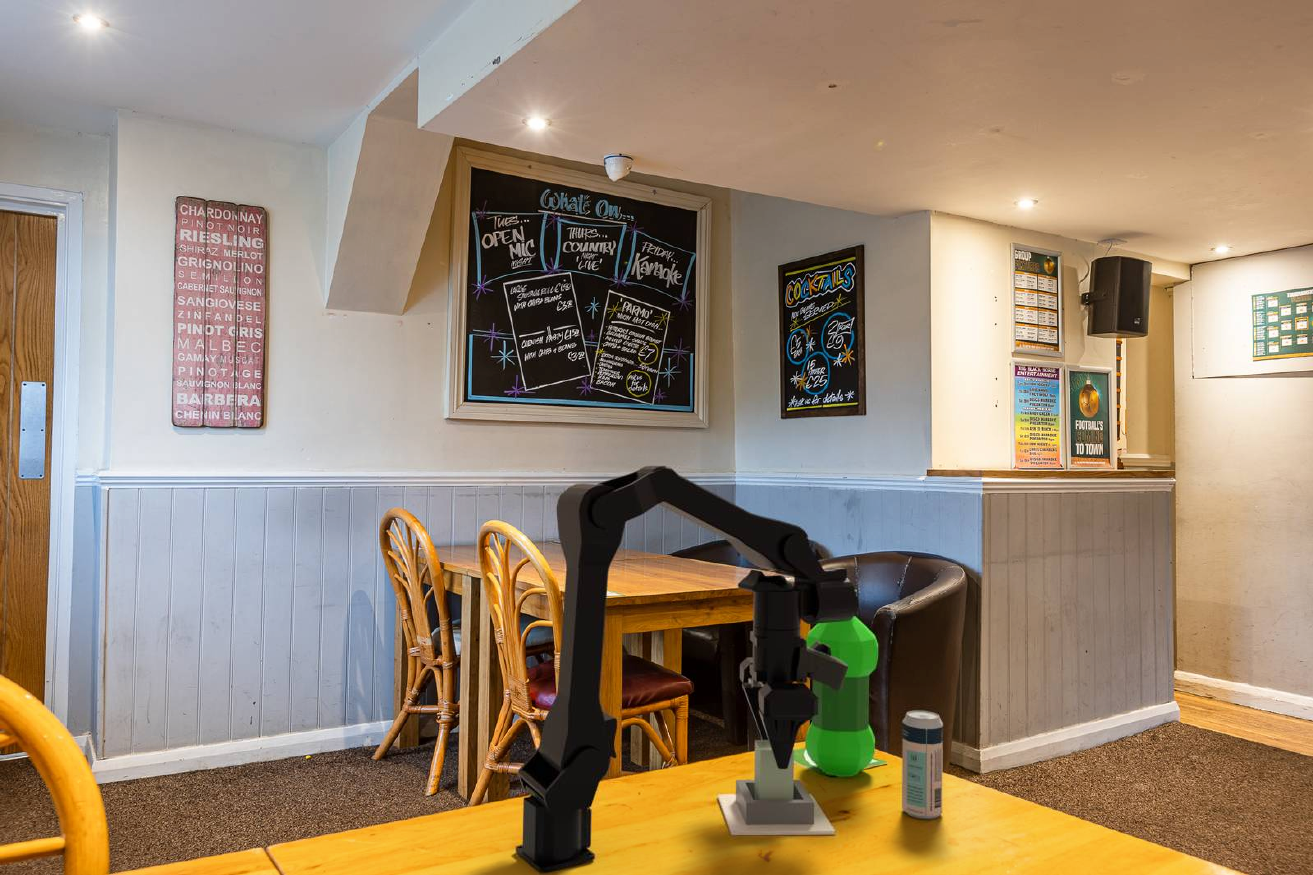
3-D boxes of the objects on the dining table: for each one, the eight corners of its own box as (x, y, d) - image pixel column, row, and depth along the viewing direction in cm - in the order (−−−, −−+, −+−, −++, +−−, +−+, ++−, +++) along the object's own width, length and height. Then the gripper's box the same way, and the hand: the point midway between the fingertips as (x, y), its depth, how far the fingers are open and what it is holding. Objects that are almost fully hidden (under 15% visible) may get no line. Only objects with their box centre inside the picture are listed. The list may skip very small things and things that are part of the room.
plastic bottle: (787, 768, 130) (789, 588, 131) (835, 754, 137) (837, 583, 137) (844, 788, 122) (846, 597, 123) (892, 772, 129) (894, 591, 130)
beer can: (938, 807, 116) (938, 710, 116) (946, 822, 111) (946, 720, 111) (898, 805, 116) (899, 708, 117) (905, 820, 111) (905, 719, 112)
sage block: (793, 818, 110) (793, 750, 111) (759, 818, 110) (760, 750, 110) (786, 805, 114) (787, 740, 115) (754, 805, 114) (755, 740, 114)
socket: (835, 834, 107) (835, 808, 107) (731, 835, 106) (731, 809, 106) (811, 797, 119) (811, 774, 119) (717, 797, 118) (718, 774, 118)
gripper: (863, 641, 104) (862, 782, 104) (823, 614, 123) (822, 734, 122) (765, 641, 103) (763, 782, 103) (740, 614, 122) (738, 734, 122)
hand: (775, 756), depth 112 cm, fingers open, 9 cm apart
